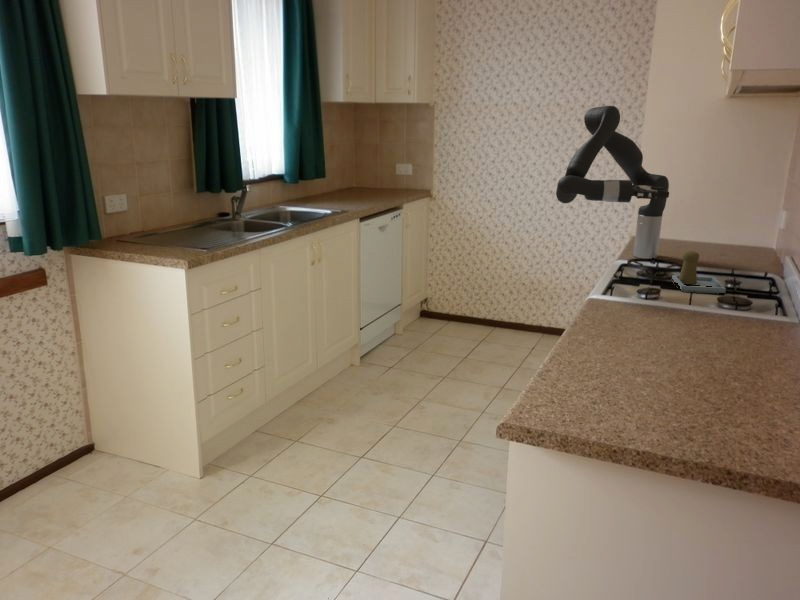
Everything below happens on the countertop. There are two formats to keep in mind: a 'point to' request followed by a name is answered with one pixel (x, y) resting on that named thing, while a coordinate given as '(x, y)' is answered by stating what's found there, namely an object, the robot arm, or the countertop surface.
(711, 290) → the tray
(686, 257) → the cork
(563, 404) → the countertop surface
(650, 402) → the countertop surface
